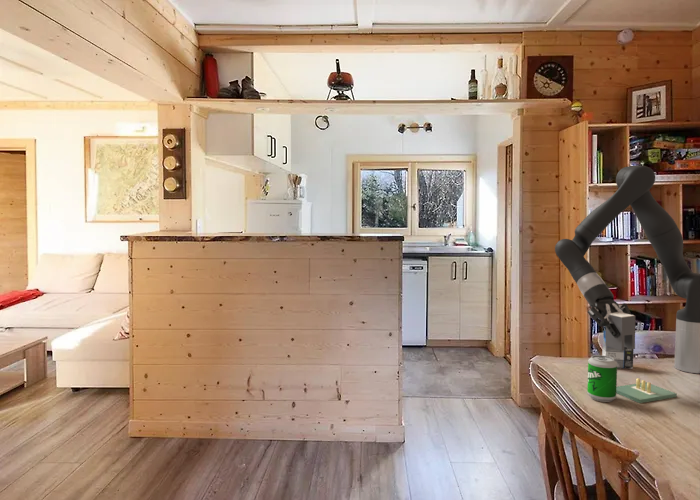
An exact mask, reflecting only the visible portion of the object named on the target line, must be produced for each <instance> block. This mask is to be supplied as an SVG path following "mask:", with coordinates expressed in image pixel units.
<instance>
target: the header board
mask: <svg viewBox="0 0 700 500" xmlns="http://www.w3.org/2000/svg"><path fill="white" fill-rule="evenodd" d="M616 395H620V396H623V397H625V398H626V399H629V400H631V401H634V402H636V403H638V404H643V403H649V402H655V401H660V400H661V401H662V400H667V399H672V398H677V396H678V395H677V393H676V392H673V391H671V390H668V389H665V388H663V387H660V386H658V385H655V384H652V383H651V382H649V381H648V382H647V381H646V380H645V379H642V380H641V378H639V377H637V378H636V380H635V383H632V384H627V385H626V384H625V385H619V386H617V387H616Z"/></svg>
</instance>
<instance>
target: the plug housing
mask: <svg viewBox="0 0 700 500" xmlns="http://www.w3.org/2000/svg"><path fill="white" fill-rule="evenodd" d="M606 315H607V314H606ZM610 318H611V320H612V321H613V323H612V324H614V325H615V326H616V328H617V329H618V331H619V332H620V336H619V337H617V338H615V337H614V336H613V335H612V334H611V333H610V331H609V330H608V328H606V327H605V331H606V346H608V347H612V348H615V349H618V350H621V351H624V347H627V348H630V349H634V350H635V349H636V315H634V314H632V315H630V314H626V313H622V312H621V313H619V312H614V313H611V314H610ZM607 321H608V320H607Z"/></svg>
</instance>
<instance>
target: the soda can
mask: <svg viewBox="0 0 700 500" xmlns="http://www.w3.org/2000/svg"><path fill="white" fill-rule="evenodd" d="M587 363H588V364H587V392H586V393H587V395H588V396H589V397H590V398H591V399H592V400H594V401H597V402H601V403H611V402H613V401H614V400H615V399H617V393H616V387H618V386H617V385H618V383H617V382H618V381H617V380H618V368H617V362H616V361H615V360H614V359H613V358H611V357H608V356H602V354H601V355H600V354H599V355H598V354H597V355H592V356H590V358H588V360H587Z"/></svg>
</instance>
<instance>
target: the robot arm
mask: <svg viewBox="0 0 700 500" xmlns="http://www.w3.org/2000/svg"><path fill="white" fill-rule="evenodd" d="M655 182H656V173H655V172H654V170H653V169H652V168H651V167H648V166H647V165H646V166H645V165H629V166H628V165H627V166H625V167H622V168H620V170H619V171H618V172H617V174H616V177H615V183H616V186H617V188H618V189H617V190H616V191H615V192H614V193H613V194H612V195H611V196H610V197H609V198H608V199H606V200H605V201H604V202H603V203H601V204H600V205H598V206H597V207H596V208H594V210H592V211H591V212H590V213H588V214H587V216H586V217H584V219H583V220H581V222H580V223H579V224H577V227H575V229H574V237H573V238H572V239H569V238H562V239H560V240H558V241H557V243H556V244H555V245H554V252H555V254H556V256H557V257H558V259H559V260H560V261H561V263H562V264H563V265H564V267H565V268H566V269H567V270H568V272H569V273H570V276H571V277H572V279H573V280H574V282H575V283H576V286H577V287H578V290H579V291H580V292H581V294H582V295H583V298H584V300H586V301H587V303H588V305H589V306H590V308H589V309H588V311H587V314H588V315H589V316H590V317H591V318H592V320H594V322H595V323H596V324H597V325H598V326H599V327H605V329H606V328H608V330H609V331H610V333H611V334H612V335H613V336H614V337H615V338H617V337H619V336H620V332H619V331H618V329H617V328H616V326H615V325H614V324H612V323H613V321H612V320H611V318H610V314H611V313H614V312H619V313H621V312H622V313H626V314H630V315H633V314H632V313H631V311H630V309H629V306H628V304H627V303H624V302H623V303H622V304H619V303H618V302H616V301H615V298H614V297H615V296H614V293H613V292H612V291H611V290H610V288H609V287H608V285H607V283H606V282H605V281H604V280H603V279H602V277H601V276H600V275H599V274H598V273H597V271H596V270H595V268H594V267H593V266H592V264H591V263H590V262H589V261H588V260H587V259H586V258H585V255H586V254H587V252H588V251H589V249H590V247H591V245H592V244H593V242H594V241H595V240H596V239H597V238H598V237H599V236H600V235H601V234H602V233H603V231H604V230H605V229H606V228H607V227H608V226H609V225H610V224H611V223H612V222H613V221H615V219H616V218H617V217H618V216H620V215H621V214H622V213H623V212H624V211H625V210H626V209H627V208H629V206H630V207H631V208H632V210H633V213H634V214H635V216H636V218H637V221H638V223H639V224H640V226H641V228H642V230H643V231H644V235H645V236H646V237H647V240H648V241H649V243H650V245H651V247H652V248H653V250H654V251H655V253H656V256H657V258H658V259H659V260H660V263H661V265H662V266H663V268H664V271H665V274H666V276H667V279H668V281H669V283H670V286H671V288H672V290H673V292H674V293H675V294H676V296H678V297H680V298H682V299H686V300H685V301H686V302H685V305H684V307H683V308H681V309H678V310H677V311H676V317H675V319H676V320H675V339H674V340H675V343H674V368H675V369H677V370H679V371H682V372H685V373H690V374H691V373H692V374H700V273H696V272H693V271H692V269H691V268H690V266H688V263H687V262H686V260H685V257H684V238H683V234H682V232H681V230H680V229H679V227H678V225H677V223H676V221H675V220H674V219H673V217H672V216H671V215H670V214H669V213H668V211H666V210H665V209H664V207H662V205H661V204H659V203H658V202H657V200H656V199H655V198H654V196H653V195H652V193H651V191H650V189H652V188H653V186H654V184H655ZM606 314H607V315H606ZM607 320H608V321H607Z"/></svg>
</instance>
